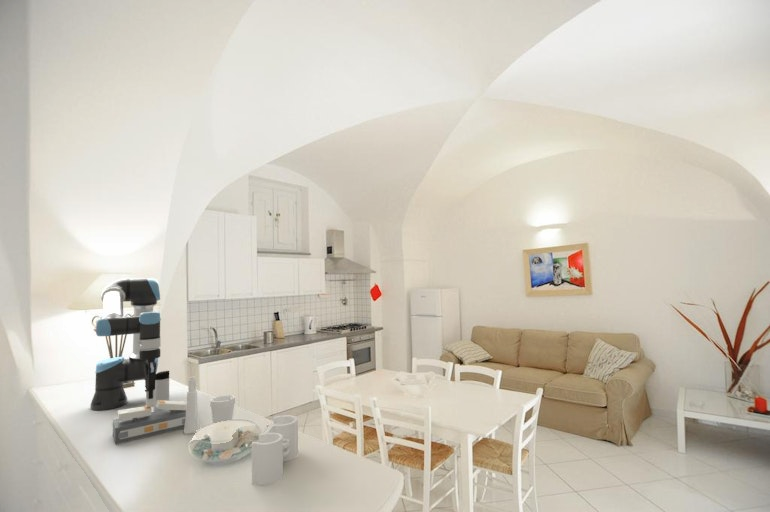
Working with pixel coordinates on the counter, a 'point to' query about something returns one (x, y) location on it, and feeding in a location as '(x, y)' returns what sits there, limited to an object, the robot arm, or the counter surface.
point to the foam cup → (222, 408)
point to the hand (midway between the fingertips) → (150, 406)
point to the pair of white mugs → (274, 450)
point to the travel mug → (161, 388)
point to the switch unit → (148, 425)
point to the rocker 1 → (134, 412)
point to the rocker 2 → (171, 405)
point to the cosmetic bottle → (191, 408)
